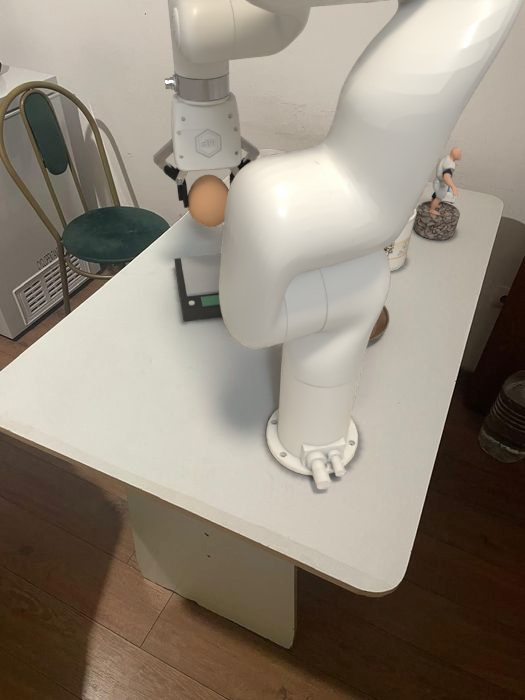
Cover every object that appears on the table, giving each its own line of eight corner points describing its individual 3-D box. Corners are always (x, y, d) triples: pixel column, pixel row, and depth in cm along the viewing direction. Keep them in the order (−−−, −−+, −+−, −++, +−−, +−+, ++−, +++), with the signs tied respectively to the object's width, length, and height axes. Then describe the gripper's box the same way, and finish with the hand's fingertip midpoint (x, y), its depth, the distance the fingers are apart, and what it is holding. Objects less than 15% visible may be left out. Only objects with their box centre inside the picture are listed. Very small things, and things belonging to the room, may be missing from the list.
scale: (262, 312, 91) (263, 298, 89) (183, 322, 89) (181, 308, 87) (246, 261, 102) (245, 248, 100) (175, 269, 100) (173, 255, 98)
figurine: (454, 250, 106) (481, 166, 94) (412, 244, 108) (433, 160, 95) (453, 216, 117) (477, 136, 104) (414, 210, 118) (433, 131, 106)
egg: (204, 240, 83) (200, 191, 78) (181, 221, 88) (176, 173, 82) (241, 226, 87) (240, 178, 81) (217, 209, 91) (214, 162, 85)
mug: (381, 279, 99) (392, 228, 91) (335, 253, 105) (341, 203, 97) (414, 259, 104) (427, 209, 96) (368, 235, 110) (377, 186, 102)
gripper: (141, 98, 68) (157, 218, 80) (269, 91, 71) (266, 208, 83) (138, 80, 73) (154, 195, 86) (258, 74, 76) (257, 186, 88)
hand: (209, 201), depth 84 cm, fingers closed on egg, 7 cm apart
